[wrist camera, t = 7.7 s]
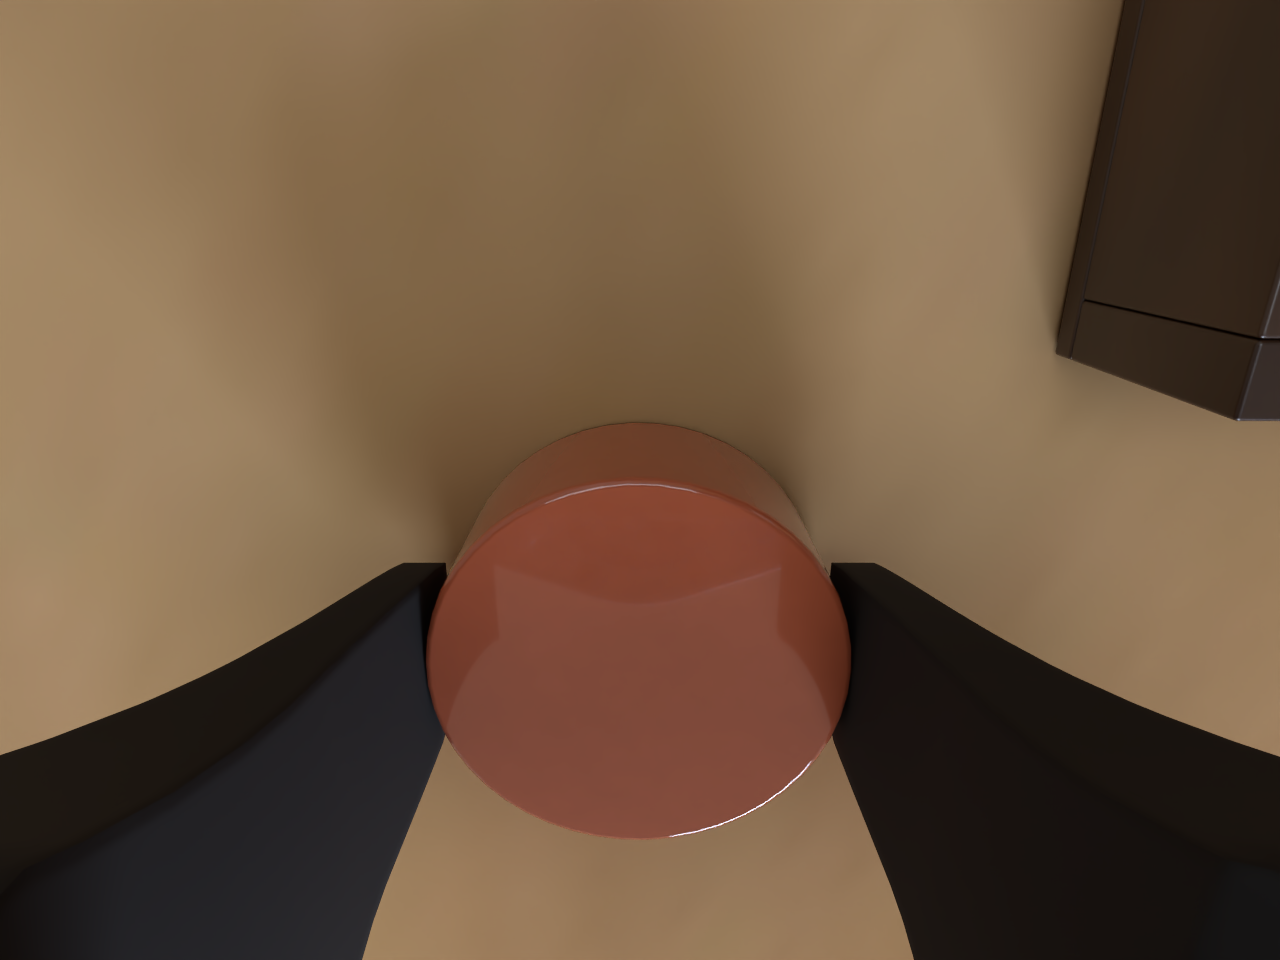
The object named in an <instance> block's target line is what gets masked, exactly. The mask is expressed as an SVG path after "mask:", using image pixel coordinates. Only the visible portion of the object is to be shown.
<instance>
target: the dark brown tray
mask: <svg viewBox="0 0 1280 960" xmlns="http://www.w3.org/2000/svg"><path fill="white" fill-rule="evenodd" d="M1056 354H1058V355H1060V356H1063V357H1065V358H1068V359H1072V360H1074V361H1076V362H1079V363H1082V364H1084V365H1087V366H1090V367H1092V368H1095V369H1098V370H1101V371H1103V372H1106V373H1109V374H1111V375H1114V376H1117V377H1119V378H1122V379H1125V380H1128V381H1130V382H1133V383H1136V384H1138V385H1141V386H1144V387H1146V388H1149V389H1152V390H1154V391H1157V392H1160V393H1163V394H1165V395H1168V396H1171V397H1173V398H1176V399H1179V400H1181V401H1184V402H1187V403H1190V404H1192V405H1195V406H1198V407H1200V408H1203V409H1206V410H1208V411H1211V412H1214V413H1216V414H1219V415H1222V416H1225V417H1227V418H1230V419H1233V420H1235V421H1280V0H1126V1H1125V6H1124V11H1123V16H1122V21H1121V26H1120V31H1119V36H1118V41H1117V46H1116V51H1115V56H1114V61H1113V66H1112V71H1111V76H1110V81H1109V86H1108V91H1107V96H1106V101H1105V106H1104V112H1103V117H1102V122H1101V127H1100V132H1099V137H1098V142H1097V147H1096V152H1095V157H1094V162H1093V167H1092V172H1091V177H1090V182H1089V187H1088V192H1087V197H1086V202H1085V207H1084V212H1083V217H1082V222H1081V227H1080V232H1079V237H1078V242H1077V247H1076V252H1075V257H1074V262H1073V267H1072V272H1071V277H1070V282H1069V287H1068V292H1067V297H1066V302H1065V307H1064V313H1063V318H1062V323H1061V328H1060V333H1059V338H1058V343H1057V348H1056Z"/></svg>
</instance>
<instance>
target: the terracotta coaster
mask: <svg viewBox="0 0 1280 960" xmlns="http://www.w3.org/2000/svg"><path fill="white" fill-rule="evenodd" d="M425 662H426V673H427V683H428V687H429V691H430V695H431V699H432V703H433V707H434V710H435V712H436V715H437V717H438V719H439V722H440V724H441V727H442V729H443V731H444V733H445V734H446V736H447V738H448V740H449V741H450V743H451V745H452V746H453V748H454V750H455V751H456V752H457V754H458V755H459V756H460V757H461V759H462V760H463V761H464V762H465V764H466V765H467V766H468V768H469V769H470V770H471V771H472V772H473V773H474V774H475V775H476V776H477V777H478V778H479V779H480V780H481V781H482V782H484V783H485V784H486V785H487V786H488V787H489V788H490V789H492V790H493V791H494V792H496V793H497V794H498V795H500V796H501V797H502V798H504V799H505V800H506V801H508V802H510V803H511V804H513V805H515V806H516V807H518V808H520V809H521V810H523V811H525V812H526V813H528V814H531V815H533V816H535V817H537V818H539V819H542V820H544V821H546V822H548V823H551V824H554V825H557V826H560V827H563V828H566V829H569V830H572V831H576V832H580V833H585V834H589V835H594V836H599V837H607V838H616V839H637V840H649V839H662V838H673V837H678V836H684V835H689V834H694V833H699V832H702V831H705V830H709V829H712V828H716V827H719V826H722V825H724V824H727V823H729V822H732V821H734V820H737V819H739V818H741V817H744V816H746V815H747V814H749V813H751V812H753V811H755V810H757V809H758V808H760V807H762V806H764V805H765V804H767V803H768V802H770V801H771V800H773V799H774V798H775V797H777V796H778V795H780V794H781V793H783V792H784V791H785V790H786V789H787V788H789V787H790V786H791V785H792V784H793V783H794V782H795V781H796V780H797V779H799V778H800V777H801V776H802V775H803V774H804V773H805V771H806V770H807V769H808V768H809V767H810V766H811V764H812V763H813V762H814V761H815V760H816V759H817V758H818V756H819V755H820V753H821V752H822V750H823V749H824V747H825V745H826V744H827V742H828V741H829V739H830V738H831V736H832V734H833V732H834V730H835V727H836V725H837V723H838V721H839V719H840V717H841V714H842V711H843V707H844V704H845V701H846V697H847V694H848V690H849V683H850V676H851V669H852V644H851V638H850V632H849V626H848V620H847V617H846V614H845V611H844V608H843V605H842V602H841V599H840V596H839V594H838V592H837V590H836V588H835V586H834V584H833V582H832V580H831V578H830V576H829V574H828V572H827V570H826V568H825V566H824V564H823V562H822V560H821V558H820V556H819V554H818V552H817V550H816V548H815V546H814V544H813V542H812V540H811V538H810V536H809V534H808V532H807V530H806V528H805V526H804V524H803V522H802V520H801V518H800V516H799V514H798V512H797V510H796V508H795V506H794V504H793V503H792V502H791V500H790V499H789V497H788V496H787V495H786V493H785V492H784V490H783V489H782V488H781V486H780V485H779V484H778V483H777V482H776V481H775V480H774V479H773V478H772V477H771V476H770V475H769V474H768V473H767V472H766V471H765V470H764V469H763V468H762V467H761V466H759V465H758V464H757V463H756V462H754V461H753V460H752V459H750V458H749V457H748V456H747V455H745V454H743V453H742V452H740V451H738V450H737V449H735V448H733V447H732V446H730V445H728V444H726V443H724V442H722V441H720V440H717V439H715V438H713V437H710V436H708V435H706V434H703V433H699V432H696V431H692V430H689V429H685V428H682V427H676V426H669V425H663V424H656V423H625V424H616V425H606V426H602V427H598V428H593V429H589V430H585V431H581V432H578V433H576V434H573V435H570V436H568V437H565V438H562V439H560V440H558V441H556V442H554V443H552V444H550V445H548V446H546V447H545V448H543V449H541V450H539V451H537V452H536V453H535V454H533V455H532V456H530V457H529V458H528V459H526V460H525V461H523V462H522V463H521V464H519V465H518V466H517V467H516V468H515V469H514V470H513V471H512V472H511V473H510V474H509V475H508V476H507V477H506V478H505V479H504V480H502V482H501V483H500V484H499V486H498V487H497V488H496V489H495V491H494V492H493V493H492V494H491V496H490V497H489V498H488V500H487V502H486V504H485V505H484V507H483V509H482V510H481V512H480V514H479V516H478V517H477V519H476V521H475V523H474V525H473V527H472V529H471V531H470V533H469V535H468V537H467V539H466V541H465V543H464V545H463V547H462V548H461V550H460V552H459V554H458V556H457V558H456V560H455V562H454V564H453V566H452V568H451V570H450V572H449V574H448V576H447V578H446V579H445V581H444V583H443V585H442V587H441V590H440V592H439V595H438V597H437V600H436V602H435V605H434V607H433V610H432V613H431V618H430V622H429V627H428V631H427V638H426V655H425Z"/></svg>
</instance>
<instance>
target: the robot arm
mask: <svg viewBox="0 0 1280 960" xmlns="http://www.w3.org/2000/svg"><path fill="white" fill-rule="evenodd" d="M446 578H447V572H446V563H402V564H400V565H398V566H396V567H394V568H392V569H390V570H388V571H386V572H385V573H383V574H381V575H379V576H378V577H376V578H374V579H373V580H371V581H369V582H368V583H366V584H364V585H363V586H361V587H360V588H358V589H356V590H355V591H353V592H352V593H350V594H348V595H347V596H345V597H343V598H342V599H340V600H338V601H337V602H335V603H334V604H332V605H330V606H329V607H327V608H325V609H324V610H322V611H321V612H319V613H317V614H316V615H314V616H312V617H311V618H309V619H307V620H306V621H304V622H302V623H301V624H299V625H297V626H295V627H294V628H292V629H290V630H288V631H286V632H285V633H283V634H281V635H279V636H277V637H276V638H274V639H272V640H270V641H268V642H267V643H265V644H263V645H261V646H260V647H258V648H256V649H254V650H252V651H251V652H249V653H247V654H245V655H243V656H242V657H240V658H238V659H236V660H234V661H232V662H230V663H228V664H226V665H224V666H222V667H220V668H218V669H216V670H214V671H212V672H210V673H208V674H206V675H204V676H202V677H200V678H198V679H195V680H193V681H191V682H189V683H187V684H184V685H182V686H180V687H178V688H176V689H173V690H171V691H169V692H167V693H165V694H162V695H160V696H158V697H156V698H153V699H151V700H149V701H146V702H144V703H141V704H139V705H136V706H134V707H131V708H129V709H126V710H123V711H121V712H118V713H116V714H113V715H110V716H108V717H105V718H103V719H100V720H97V721H95V722H92V723H89V724H87V725H84V726H82V727H79V728H76V729H74V730H71V731H69V732H66V733H63V734H61V735H58V736H56V737H53V738H50V739H47V740H44V741H42V742H39V743H36V744H33V745H30V746H27V747H24V748H21V749H18V750H15V751H12V752H9V753H5V754H2V755H0V960H362V958H363V954H364V951H365V947H366V944H367V941H368V937H369V934H370V930H371V927H372V923H373V920H374V917H375V914H376V912H377V909H378V906H379V903H380V900H381V898H382V895H383V892H384V889H385V886H386V884H387V881H388V879H389V876H390V874H391V871H392V869H393V866H394V864H395V861H396V859H397V856H398V854H399V851H400V849H401V846H402V844H403V842H404V839H405V837H406V834H407V832H408V829H409V827H410V824H411V822H412V819H413V817H414V814H415V812H416V809H417V807H418V804H419V802H420V799H421V797H422V795H423V792H424V790H425V787H426V784H427V782H428V779H429V777H430V774H431V772H432V769H433V767H434V764H435V762H436V759H437V757H438V754H439V751H440V749H441V746H442V743H443V740H444V736H445V733H444V731H443V729H442V727H441V724H440V722H439V719H438V717H437V715H436V712H435V710H434V707H433V703H432V699H431V695H430V691H429V687H428V683H427V673H426V662H425V655H426V638H427V631H428V627H429V622H430V618H431V613H432V610H433V607H434V605H435V602H436V600H437V597H438V595H439V592H440V590H441V587H442V585H443V583H444V581H445V579H446ZM830 578H831V580H832V582H833V584H834V586H835V588H836V590H837V592H838V594H839V596H840V599H841V602H842V605H843V608H844V611H845V614H846V617H847V620H848V626H849V632H850V638H851V644H852V669H851V676H850V683H849V690H848V694H847V697H846V701H845V704H844V707H843V711H842V714H841V717H840V719H839V721H838V723H837V725H836V727H835V730H834V732H833V734H832V736H833V740H834V743H835V746H836V749H837V751H838V754H839V757H840V759H841V762H842V764H843V767H844V769H845V772H846V775H847V777H848V780H849V782H850V785H851V787H852V790H853V792H854V795H855V797H856V800H857V802H858V805H859V807H860V810H861V812H862V815H863V817H864V820H865V822H866V825H867V827H868V830H869V832H870V835H871V837H872V840H873V842H874V845H875V848H876V850H877V853H878V855H879V858H880V860H881V863H882V865H883V868H884V870H885V873H886V875H887V878H888V880H889V883H890V885H891V888H892V891H893V894H894V896H895V899H896V902H897V905H898V908H899V911H900V914H901V916H902V919H903V923H904V926H905V929H906V933H907V936H908V940H909V943H910V947H911V950H912V954H913V957H914V960H1280V757H1279V756H1276V755H1273V754H1270V753H1267V752H1264V751H1261V750H1258V749H1255V748H1252V747H1249V746H1246V745H1243V744H1240V743H1237V742H1234V741H1231V740H1228V739H1226V738H1223V737H1220V736H1217V735H1215V734H1212V733H1209V732H1207V731H1204V730H1201V729H1199V728H1196V727H1193V726H1191V725H1188V724H1185V723H1182V722H1180V721H1177V720H1174V719H1172V718H1169V717H1166V716H1164V715H1161V714H1159V713H1156V712H1154V711H1152V710H1149V709H1147V708H1144V707H1142V706H1139V705H1137V704H1134V703H1132V702H1130V701H1127V700H1125V699H1123V698H1121V697H1119V696H1116V695H1114V694H1112V693H1110V692H1107V691H1105V690H1103V689H1101V688H1099V687H1096V686H1094V685H1092V684H1090V683H1088V682H1085V681H1083V680H1081V679H1079V678H1076V677H1074V676H1072V675H1070V674H1068V673H1066V672H1064V671H1062V670H1060V669H1058V668H1056V667H1054V666H1052V665H1050V664H1048V663H1046V662H1044V661H1042V660H1041V659H1039V658H1037V657H1035V656H1033V655H1031V654H1029V653H1028V652H1026V651H1024V650H1022V649H1020V648H1018V647H1016V646H1015V645H1013V644H1011V643H1009V642H1007V641H1005V640H1004V639H1002V638H1000V637H998V636H997V635H995V634H993V633H991V632H990V631H988V630H986V629H985V628H983V627H981V626H979V625H978V624H976V623H974V622H973V621H971V620H969V619H968V618H966V617H964V616H963V615H961V614H959V613H958V612H956V611H955V610H953V609H951V608H950V607H948V606H946V605H945V604H943V603H942V602H940V601H938V600H937V599H935V598H934V597H932V596H930V595H929V594H927V593H926V592H924V591H922V590H921V589H919V588H918V587H916V586H914V585H913V584H911V583H909V582H908V581H906V580H905V579H903V578H901V577H900V576H898V575H896V574H894V573H893V572H891V571H889V570H887V569H886V568H884V567H882V566H880V565H877V564H875V563H831V573H830Z"/></svg>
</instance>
